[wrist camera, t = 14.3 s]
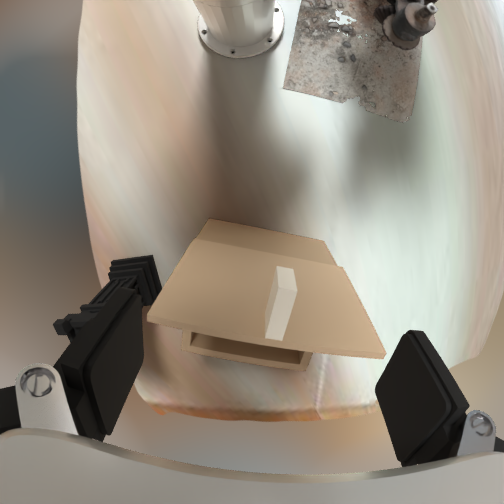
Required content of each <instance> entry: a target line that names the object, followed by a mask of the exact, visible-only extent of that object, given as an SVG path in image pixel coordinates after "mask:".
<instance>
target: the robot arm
mask: <svg viewBox="0 0 504 504" xmlns="http://www.w3.org/2000/svg"><path fill="white" fill-rule="evenodd" d="M193 2H194V3H195V5H196V7H197V9H198V11H199V12H200V14H199V16H198V22H197V25H198V31H199V34H200V37H201V38H202V40H203V42H204V43H205V44H206V45H207V46H208V47H209V48H210V49H211V50H213V51H214V52H216V53H218V54H220V55H223V56H226V57H232V58H246V57H252V56H255V55H259V54H261V53H263V52H265V51H267V50H268V49H269V48H271V47H272V46H273V45H274V44H275V43H276V42H277V41H278V39H279V38H280V36H281V34H282V31H283V28H284V15H283V11H282V9H281V7H280V6H279V4H278V3H277V2H276V1H275V0H193ZM275 11H277V12H275ZM204 33H207V34H204ZM268 41H271V43H269V42H268ZM232 52H235V53H234V54H232ZM143 358H144V350H143V331H142V302H141V296H140V295H137V292H136V290H133V289H129V288H124V287H119V288H118V289H117V290H116V291H115V292H114V294H113V295H112V296H111V297H110V299H109V300H108V301H107V302H106V304H105V305H104V306H103V307H102V308H101V310H100V311H99V312H98V314H97V315H96V316H95V317H94V318H92V319H90V320H88V321H87V323H86V324H85V325H84V326H83V328H82V329H81V330H80V332H79V333H78V334H77V335H76V337H75V338H74V339H73V341H72V342H71V343H70V345H69V346H68V347H67V348H66V350H65V351H64V352H63V354H62V355H61V357H60V358H59V359H58V361H57V362H56V363H55V365H54V366H53V367H51V366H49V365H47V364H42V363H41V364H32V365H29V366H27V367H25V368H24V369H22V370H21V371H20V373H19V374H18V376H17V378H16V382H15V386H11V387H6V388H2V389H0V504H504V441H503V440H501V439H500V438H498V437H496V426H495V424H494V421H493V420H492V418H491V417H490V416H489V415H488V414H486V413H484V412H482V411H479V410H474V411H471V412H470V413H468V415H466V413H465V411H466V410H467V409H468V408H469V404H468V402H467V400H466V398H465V397H464V395H463V393H462V391H461V390H460V389H459V387H458V385H457V383H456V381H455V380H454V378H453V376H452V375H451V373H450V372H449V370H448V368H447V367H446V365H445V364H444V362H443V360H442V359H441V357H440V356H439V354H438V353H437V351H436V349H435V348H434V346H433V345H432V343H431V342H430V340H429V339H428V337H427V336H426V334H425V333H424V332H423V331H416V330H409V331H407V332H406V334H404V335H403V336H402V337H401V339H400V341H399V343H398V345H397V347H396V349H395V351H394V353H393V355H392V357H391V359H390V361H389V363H388V364H387V366H386V368H385V370H384V372H383V373H382V375H381V377H380V379H379V381H378V382H377V384H376V387H375V393H376V396H377V399H378V402H379V405H380V408H381V411H382V414H383V416H384V419H385V422H386V426H387V429H388V432H389V435H390V438H391V441H392V444H393V447H394V450H395V454H396V457H397V460H398V461H400V462H401V465H402V467H401V468H395V469H388V470H379V471H371V472H360V473H347V474H326V475H288V474H266V473H253V472H242V471H233V470H225V469H218V468H211V467H205V466H199V465H193V464H188V463H182V462H177V461H173V460H168V459H164V458H159V457H155V456H151V455H147V454H143V453H139V452H135V451H131V450H128V449H124V448H121V447H118V446H114V445H111V444H107V443H103V440H104V437H105V435H111V433H112V431H113V429H114V426H115V424H116V422H117V419H118V417H119V415H120V413H121V410H122V408H123V406H124V403H125V401H126V399H127V396H128V394H129V392H130V390H131V387H132V385H133V383H134V381H135V379H136V376H137V374H138V372H139V370H140V368H141V365H142V363H143ZM92 438H93V439H92ZM94 439H95V440H94ZM97 440H98V441H97ZM100 441H101V442H100ZM417 464H418V465H417Z"/></svg>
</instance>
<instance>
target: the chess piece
mask: <svg viewBox="0 0 504 504" xmlns="http://www.w3.org/2000/svg"><path fill="white" fill-rule="evenodd" d="M111 265H112V266H111V267H110V271H111V272H109V273H108V276H109V279H110V282H109V283H108V284H107V285H106V286H105V287H104V288H103V289H102V290H101V291H100V292H99V293H98V294H97V295H96V296H95V297H94V299H93V300H92V301H91V302H90V303H89V304H86V305H82V306H81V307H80V309H81V313H80V314H68V315H67V316H66V317H65V318H64V319H57V321H55V323H54V324H53V326H54V328H55V330H56V332H57V334H58V335H67V336H68V338H69V340H70V342H72V341H73V339H74V338H75V337H76V335H77V334H78V333H79V332H80V330H81V329H82V328H83V326H84V325H85V324H86V323H87V321H88V320H90V319H92V318H94V317H95V316H96V315H97V314H98V312H99V311H100V310H101V308H102V307H103V306H104V305H105V304H106V302H107V301H108V300H109V299H110V297H111V296H112V295H113V294H114V292H115V291H116V290H117V289H118V288H119V287H124V288H129V289H133V290H136V292H137V295H140V296H141V302H142V307H143V306H148V305H153V303H154V302H155V300H156V298H157V297H158V295H159V294H160V292H161V290H162V287H161V283H160V280H159V276H158V273H157V269H156V266H155V262H154V258H153V255H148V256H141V257H134V258H127V259H119V260H113V261H112V262H111Z"/></svg>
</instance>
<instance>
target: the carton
mask: <svg viewBox="0 0 504 504" xmlns="http://www.w3.org/2000/svg"><path fill="white" fill-rule="evenodd" d="M196 239H200V240H205V241H211V242H216V243H221V244H226V245H231V246H237V247H242V248H247V249H252V250H257V251H262V252H268V253H273V254H278V255H283V256H288V257H293V258H299V259H304V260H309V261H314V262H319V263H324V264H329V265H334V266H337V264H336V262H335V260H334V258H333V257H332V255H331V253H330V251H329V249H328V248H327V246H326V244H325V242H324V241H321V240H317V239H312V238H307V237H302V236H297V235H292V234H288V233H283V232H278V231H273V230H268V229H262V228H257V227H252V226H247V225H242V224H237V223H232V222H226V221H221V220H216V219H210V218H209V219H208V221H207V222H206V224H205V225H204V227H203V228H202V230H201V231H200V233H199V234H198V236H197V237H196ZM181 350H182V351H187V352H191V353H196V354H201V355H206V356H211V357H216V358H221V359H226V360H232V361H237V362H243V363H249V364H255V365H262V366H269V367H276V368H283V369H290V370H299V371H306V369H307V366H308V364H309V361H310V359H311V356H312V354H313V352H307V351H299V350H292V349H285V348H278V347H272V346H265V345H259V344H253V343H247V342H242V341H236V340H231V339H225V338H220V337H215V336H210V335H205V334H200V333H195V332H191V331H186V330H183V332H182V345H181Z"/></svg>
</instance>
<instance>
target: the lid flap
mask: <svg viewBox="0 0 504 504" xmlns="http://www.w3.org/2000/svg"><path fill="white" fill-rule="evenodd" d="M147 321H148V322H152V323H156V324H160V325H164V326H168V327H173V328H177V329H182V330H186V331H191V332H195V333H200V334H205V335H210V336H215V337H220V338H225V339H231V340H236V341H242V342H247V343H253V344H259V345H265V346H272V347H278V348H285V349H292V350H299V351H307V352H315V353H323V354H332V355H341V356H351V357H362V358H374V359H384V357H385V355H386V351H385V349H384V347H383V345H382V343H381V341H380V339H379V337H378V335H377V333H376V330H375V328H374V326H373V324H372V322H371V320H370V318H369V316H368V314H367V312H366V310H365V308H364V306H363V305H362V303H361V301H360V299H359V297H358V295H357V293H356V291H355V289H354V287H353V285H352V283H351V282H350V280H349V278H348V276H347V274H346V272H345V270H344V269H343V267H340V266H334V265H329V264H324V263H319V262H314V261H309V260H304V259H299V258H293V257H288V256H283V255H278V254H273V253H268V252H262V251H257V250H252V249H247V248H242V247H237V246H231V245H226V244H221V243H216V242H211V241H205V240H200V239H195V238H194V239H193V241H192V242H191V244H190V245H189V247H188V248H187V250H186V252H185V253H184V255H183V256H182V258H181V260H180V261H179V263H178V264H177V266H176V267H175V269H174V271H173V272H172V274H171V276H170V277H169V279H168V280H167V282H166V284H165V285H164V287H163V289H162V290H161V292H160V294H159V295H158V297H157V298H156V300H155V302H154V303H153V305H152V307H151V309H150V310H149V312H148V314H147Z"/></svg>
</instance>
